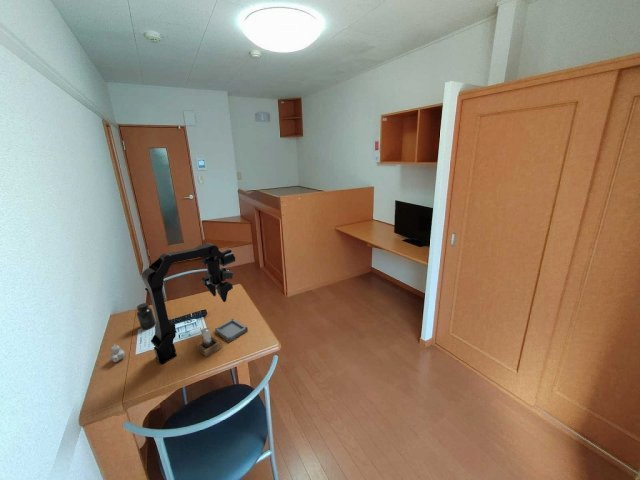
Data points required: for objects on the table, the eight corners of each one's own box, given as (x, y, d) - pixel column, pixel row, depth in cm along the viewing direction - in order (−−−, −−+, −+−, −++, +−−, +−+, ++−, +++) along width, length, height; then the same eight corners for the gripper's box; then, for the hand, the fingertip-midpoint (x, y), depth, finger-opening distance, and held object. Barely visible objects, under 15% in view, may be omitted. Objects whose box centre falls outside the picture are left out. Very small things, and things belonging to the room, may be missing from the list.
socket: (206, 357, 117) (204, 351, 116) (198, 350, 122) (196, 344, 121) (221, 348, 122) (220, 342, 121) (212, 341, 127) (211, 336, 126)
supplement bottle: (159, 321, 145) (153, 301, 141) (150, 330, 138) (144, 309, 134) (146, 321, 145) (140, 301, 141) (137, 329, 139) (131, 309, 135)
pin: (208, 352, 120) (203, 333, 117) (204, 349, 122) (200, 330, 119) (215, 348, 122) (210, 329, 119) (211, 345, 124) (207, 326, 121)
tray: (229, 342, 126) (228, 338, 125) (215, 332, 133) (214, 328, 133) (247, 330, 133) (247, 327, 132) (233, 322, 140) (232, 318, 140)
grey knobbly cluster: (128, 353, 123) (123, 338, 120) (123, 363, 117) (117, 347, 114) (114, 356, 121) (108, 341, 119) (108, 367, 115) (102, 351, 113)
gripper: (240, 268, 129) (245, 297, 134) (219, 259, 141) (224, 287, 146) (218, 277, 121) (224, 308, 126) (198, 267, 133) (204, 295, 138)
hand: (219, 298), depth 134 cm, fingers open, 9 cm apart
